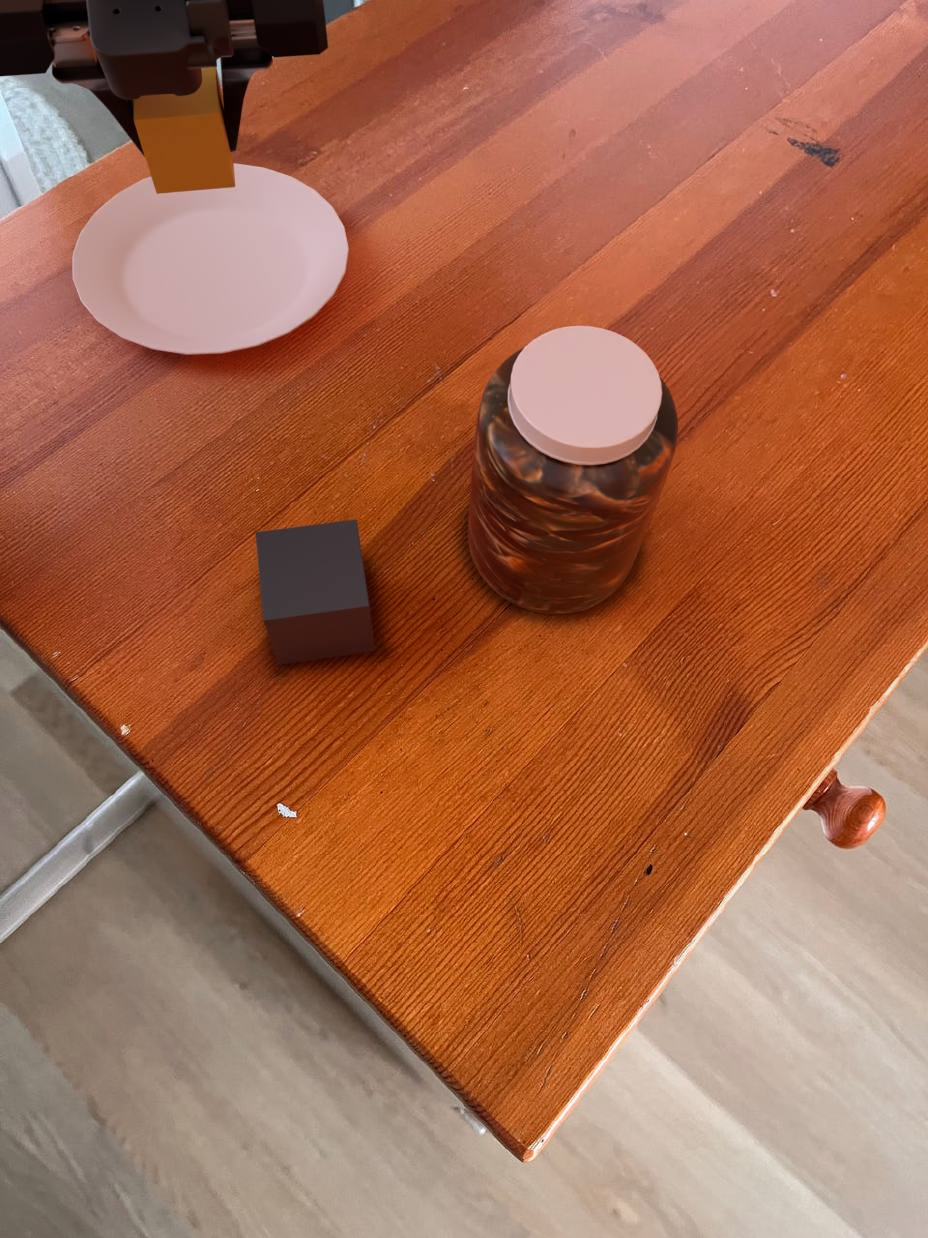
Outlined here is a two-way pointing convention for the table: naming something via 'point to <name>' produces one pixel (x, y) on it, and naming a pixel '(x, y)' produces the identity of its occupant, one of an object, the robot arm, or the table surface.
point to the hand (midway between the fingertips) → (190, 150)
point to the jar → (568, 468)
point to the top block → (186, 138)
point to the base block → (314, 591)
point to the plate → (211, 262)
